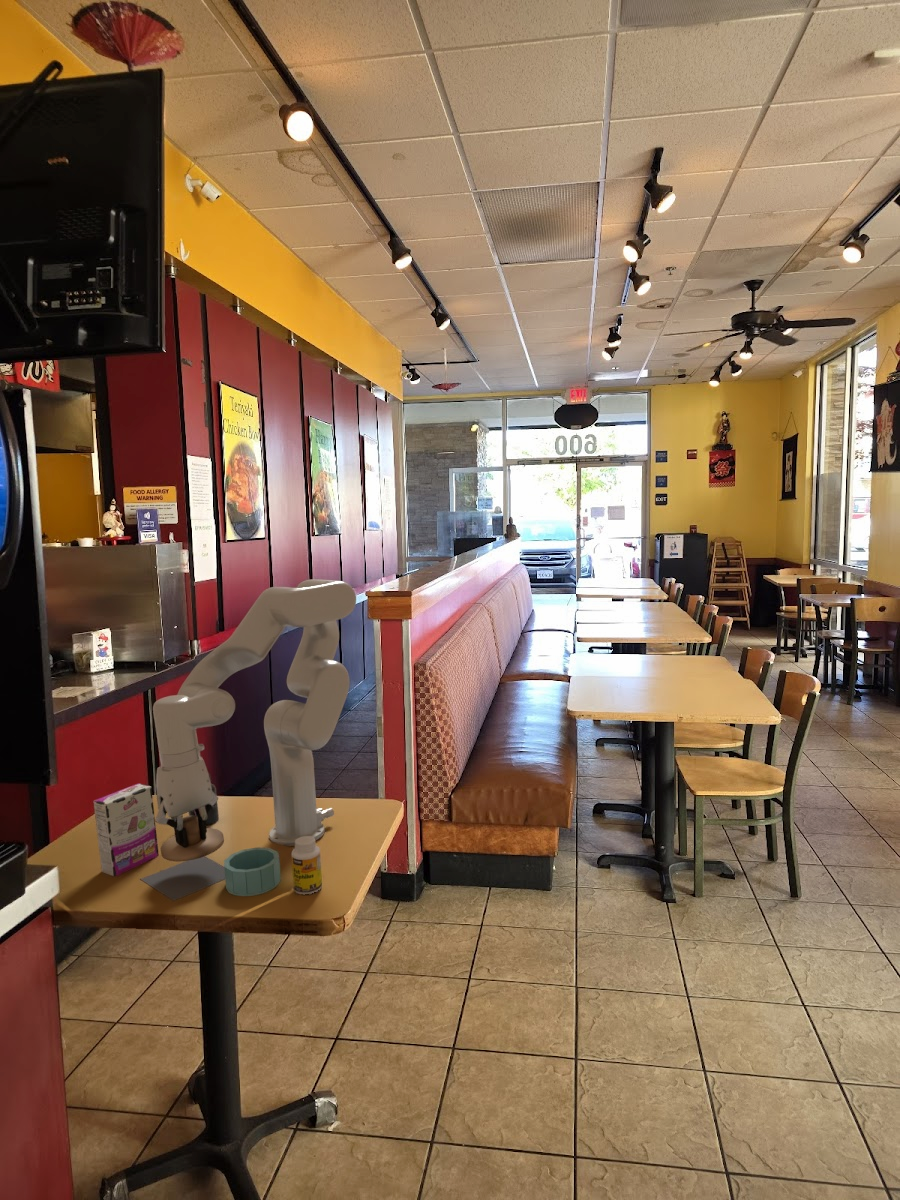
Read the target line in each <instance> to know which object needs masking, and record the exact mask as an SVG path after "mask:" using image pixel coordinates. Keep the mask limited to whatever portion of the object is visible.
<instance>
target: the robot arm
mask: <svg viewBox="0 0 900 1200" xmlns="http://www.w3.org/2000/svg"><path fill="white" fill-rule="evenodd" d="M356 603H357V594H356V592H355V590H354V588H353V587H352V586H351V585H350V584H349V583H348V582H345V581H342V580H334V579H333V580H331V579H318V578H317V579H316V578H315V579H313V578H312V579H306V580H304V581H301V582H300V583H299V584H297V586H296V587H288V586H272V587H268V588H267V589H264V590H263V592H261V594H259V596H258V598H257V599H256V600H255V601H254V603H253V605H252V606H251V607H250V609H249V610H248V612H247V613H246V615H244V617H243V618H242V620H241V621H240V623H239V624H238V625H237V627H236V628H235V630H234V631H233V633H232V634H231V635H230V637H229V638H228V639H227V640H225V641H224V642H222V643H221V644H219V645H218V646H217V647H216V648H215V649H213V650H212V651H211V652H209V653H208V654H207V655H205V656H204V657H203V658H202V659H201V660H200V661H199V662H198V663H197V664H196V665H195V666H194V667H193V669H192V670H191V671H190V673H189V674H188V676H187V677H186V679H185V680H184V682H182V684H181V686H180V688H179V689H178V692H177V694H175V695H174V694H173V695H168V696H165V697H161V698H159V699H157V700H156V701H155V702H154V703H153V706H152V711H153V712H152V713H153V719H154V726H155V727H154V728H155V733H156V738H157V746H158V752H159V760H160V766H159V767H157V769H156V779H155V780H156V783H155V785H156V786H155V787H156V801H157V809H158V811H157V813H156V817H155V823H157V824H159V825H165V826H169V827H172V828H173V830H174V836H175V838H176V842H177V844H179V845H181V846H182V847H184V848H186V847H188V839H187V832H186V829H185V828H183V818H184V815H185V814H187V813H189V812H190V811H192V810H194V812H195V816H197V817H198V823H199V830H200V837H201V839H202V840H204V839H206V832H207V829H206V828H207V826H206V822H205V820H206V819H207V815H208V813H209V811H210V809H211V807H212V806H213V805H214V804H215V803H216V802H217V803H218V800H219V797H218V796H216V795H217V793H216V794H215V793H214V792H213V791H212V788H211V784H212V783H210V779H211V777H210V778H209V775H208V773H209V771H208V768H207V766H206V765H207V764H206V763H205V760H204V759H203V756H201V755H202V754H201V752H202V751H204V750H205V745H204V744H203V743H199V741H198V735H197V729H202V728H207V727H213V726H215V727H216V726H218V725H221V724H222V725H223V724H224V723H226V722H228V721H229V720H230V719H231V718H232V716H233V714H234V712H235V710H236V701H235V699H234V698H233V696H232V695H231V694H230V693H229V692H228V691H227V690H224V689H222V688H219V687H220V686H221V685H222V684H223V683H224V682H225V681H226V680H227V679H228V678H229V677H231V676H233V674H235V673H237V672H238V671H242V670H244V669H246V668H250V667H252V666H254V665H257V664H258V663H261V662H263V660H264V659H265V658H266V657H267V655H268V653H269V652H270V650H272V647H273V646H274V645H275V643H276V642H277V640H278V639H279V637H280V635H281V634H282V633H283V631H284V630H285V629H286V627H290V628H291V627H292V628H303V631H302V632H303V633H302V636H301V639H300V643H299V645H298V648H297V650H296V653H295V655H294V657H293V660H292V662H291V665H290V668H289V670H288V673H287V677H286V685H287V688H288V690H289V692H291V693H292V694H294V695H296V696H299V697H302V698H305V699H306V702H305V703H304V702H300V701H296V700H292V699H291V700H289V699H282V700H279V701H277V702H276V701H275V702H274V703H272V704H271V705H270V706H269V707H268V708H267V710H266V712H265V715H264V719H263V729H264V735H265V739H266V742H267V746H268V750H269V758H270V768H271V769H270V770H271V782H272V783H271V784H272V786H271V787H272V797H273V809H274V813H273V814H274V823H275V824H274V827H273V828H270V831H269V832H268V837H269V840H270V841H271V842H273V843H275V844H276V845H277V844H278V845H282V846H285V847H295V840H296V839H297V838H300V837H303V836H312V837H314V838H315V841H317V840H319V839H320V838H322V836H323V835H324V834H325V831H326V830H325V825H324V824H323V823H322V822H323V821H324V820H326V819H328V818H331V817H333V816H334V815H335V811H334V808H332V807H329V808H326V809H324V810H323V808H321V807H319V808H317V798H316V781H315V780H316V779H315V765H314V755H313V751H317V750H319V749H322V748H323V747H325V745H327V743H329V741H330V739H331V738H332V735H333V734H334V731H335V729H336V726H337V724H338V721H339V718H340V716H341V713H342V711H343V707H344V705H345V702H346V700H347V697H348V694H349V690H350V675H349V671H348V670H347V668H346V667H345V665H343V663H341V662H339V661H337V660H334V658H335V656H336V653H337V650H338V646H339V641H340V630H339V627H338V621H337V620H341V619H344V618H347V617H348V616H349V615H350V614H351V613H352V612H353V611H354V609H355V607H356ZM166 816H168V817H166Z"/></svg>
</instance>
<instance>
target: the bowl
mask: <svg viewBox="0 0 900 1200" xmlns="http://www.w3.org/2000/svg"><path fill="white" fill-rule="evenodd" d="M223 863H224V865H223V866H224V869H225V880H224V881H225V889H226V890H227V892H228V893H229V894H231V895H234V896H238V897H251V896H259V895H262V894H265V893H267V892H269V891H271V890H274V888H276V887H277V886H279V884H280V882H281V880H282V878H281V877H282V876H281V863H280V853H279V851H278V850H275V849H273V848H271V847H253V848H252V847H251V848H246V849H242V850H239V851H237V852H234V853H231V854H230V855H229V856H228V857H227V858H225V859H224V861H223Z"/></svg>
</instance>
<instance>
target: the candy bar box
mask: <svg viewBox="0 0 900 1200" xmlns="http://www.w3.org/2000/svg"><path fill="white" fill-rule="evenodd" d="M153 798H154V797H153V790H152V786H150V785H147V784H143V783H136V784H133V785H131V786H128V787H126V788H123V789H120V790H117V791H116V792H115V791H114V792H113V793H111V794H107V795H105V796H102V797H100V798H97V799H94V800H93V801H92V802H93V810H94V818H95V819H94V820H95V826H96V827H95V828H96V834H97V835H96V836H97V845H98V851H99V859H100V860H99V861H100V866H101V867H100V869H101V872H102V873H105V874H107V875H110V876H112V877H117V876H119V875H121V874H123V873H125V872H127V871H130V870H131V869H134V868H136V867H138V866H140V865H142V864H144V863H146V862H148V861H151V860H153V859H155V858H156V857H159V856H160V853H159V846H158V845H159V844H158V836H157V825H156V822H155V819H156V817H155V809H154V800H153Z"/></svg>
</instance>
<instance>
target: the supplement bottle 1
mask: <svg viewBox="0 0 900 1200" xmlns="http://www.w3.org/2000/svg"><path fill="white" fill-rule="evenodd" d="M208 775H209V778H210V783H211V782H212V779H211V774H210V773H209V772H208ZM211 788H212V791H213V792H214V793H215V794H216V796H217V788H216V786H215V784H214V783H213V784H212V783H211ZM217 797H218V796H217ZM219 815H220V814H219V804H218V801H217V802H216V803H215V804H214V805H213V806H212V807H211V809H210V811H209V813H208V815H207V819H206V820H205V822H206V827H207V826H208V827H209V826H211V825H215V824H216V823H217V822H219V820H220V817H219ZM188 816H195V812H194V810H192V811H190V812H188Z"/></svg>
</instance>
